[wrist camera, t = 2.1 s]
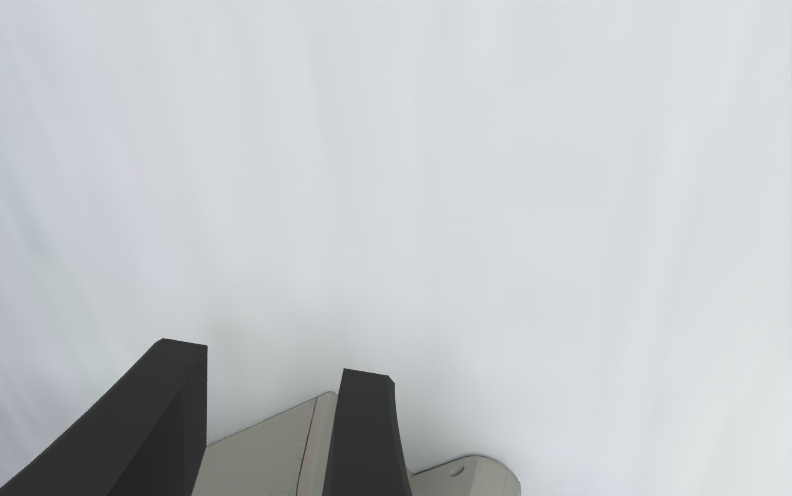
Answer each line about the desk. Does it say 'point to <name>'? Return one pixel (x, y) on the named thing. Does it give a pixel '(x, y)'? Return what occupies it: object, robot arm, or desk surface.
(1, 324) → the desk surface
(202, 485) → the digital clock
